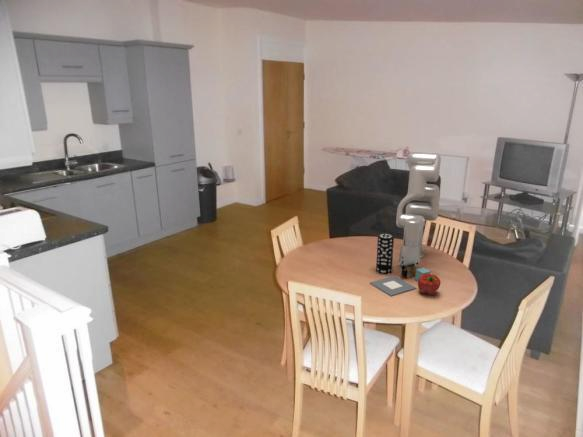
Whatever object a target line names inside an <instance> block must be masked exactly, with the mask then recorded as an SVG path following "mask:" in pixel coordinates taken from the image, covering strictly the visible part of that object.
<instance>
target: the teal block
mask: <svg viewBox="0 0 583 437" xmlns="http://www.w3.org/2000/svg"><path fill="white" fill-rule="evenodd" d="M424 273H428V274H432V273H431V270H429V269H427V268H425V267H420V268H416V276H415V277H414V278H415V279H414V280H415V281H416V282H418V280H419V277H421V276H422V274H424Z"/></svg>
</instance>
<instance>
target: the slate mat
mask: <svg viewBox="0 0 583 437" xmlns="http://www.w3.org/2000/svg"><path fill="white" fill-rule="evenodd" d="M369 284H370V285H372V286H373V287H375V288H376V289H378V290H380V292H383V293H385V294H386V295H388V296H389V297H394V296H397V295H401V294H404V293H408V292H410V291H414V290H417V287H416V286H414V285H412V284H410V283H409V282H407V281H405V280H403V279H401V278H399V277H398V276H395V275H391V276H388V277H384V278H380V279H378V280H373V281H370V282H369Z"/></svg>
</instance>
